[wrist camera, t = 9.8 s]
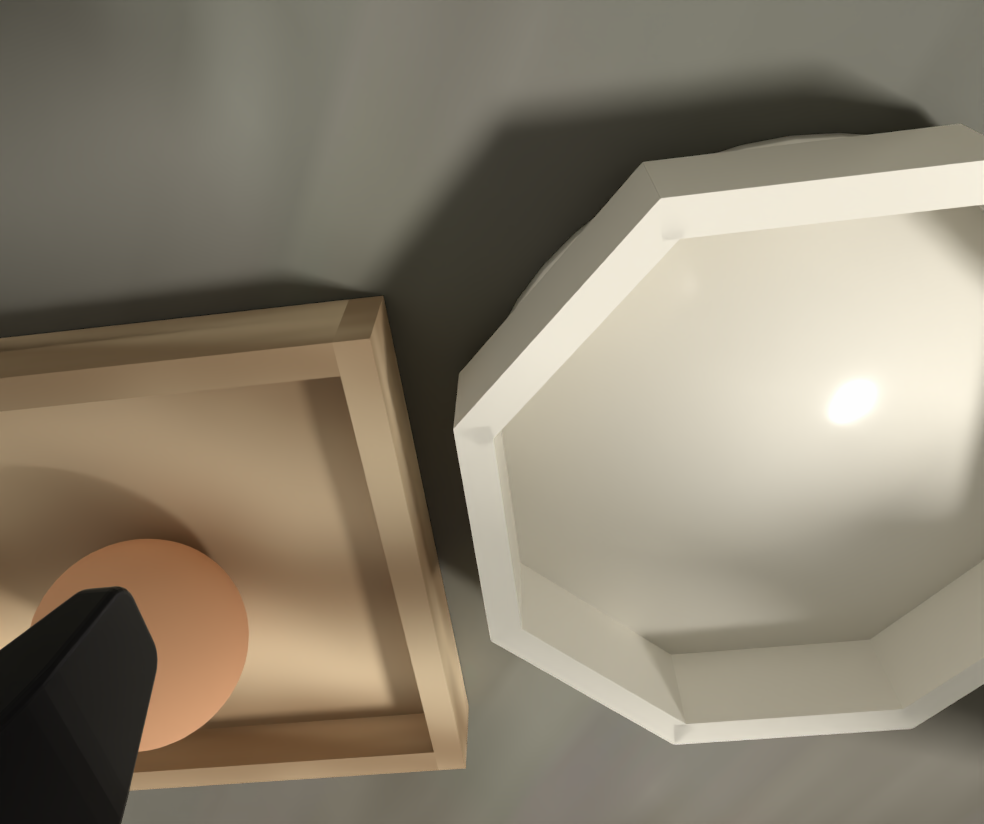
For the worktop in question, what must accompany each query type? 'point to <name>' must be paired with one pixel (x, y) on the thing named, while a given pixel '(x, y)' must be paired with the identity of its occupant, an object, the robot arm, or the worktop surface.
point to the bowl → (747, 442)
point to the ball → (172, 627)
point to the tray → (248, 524)
